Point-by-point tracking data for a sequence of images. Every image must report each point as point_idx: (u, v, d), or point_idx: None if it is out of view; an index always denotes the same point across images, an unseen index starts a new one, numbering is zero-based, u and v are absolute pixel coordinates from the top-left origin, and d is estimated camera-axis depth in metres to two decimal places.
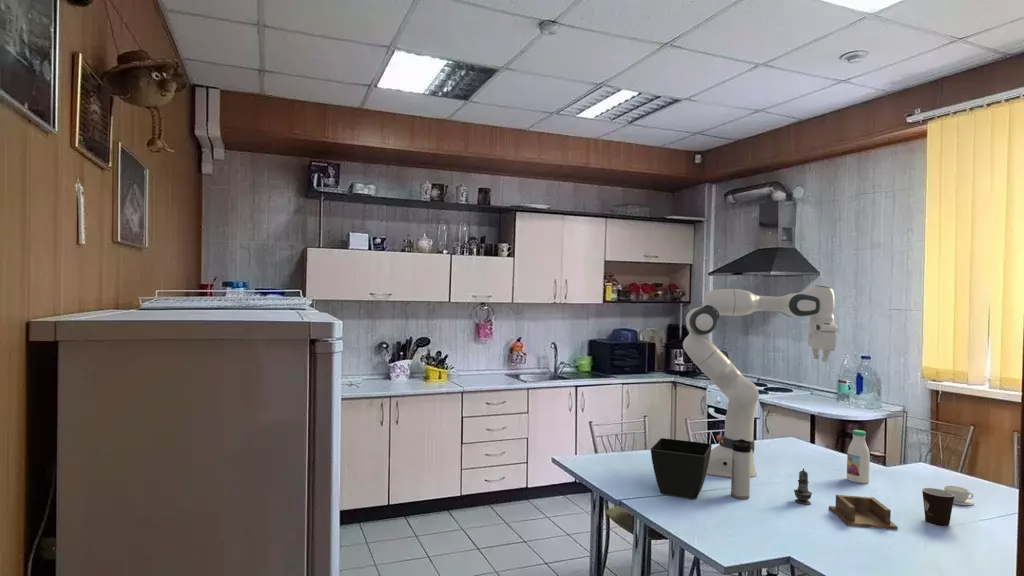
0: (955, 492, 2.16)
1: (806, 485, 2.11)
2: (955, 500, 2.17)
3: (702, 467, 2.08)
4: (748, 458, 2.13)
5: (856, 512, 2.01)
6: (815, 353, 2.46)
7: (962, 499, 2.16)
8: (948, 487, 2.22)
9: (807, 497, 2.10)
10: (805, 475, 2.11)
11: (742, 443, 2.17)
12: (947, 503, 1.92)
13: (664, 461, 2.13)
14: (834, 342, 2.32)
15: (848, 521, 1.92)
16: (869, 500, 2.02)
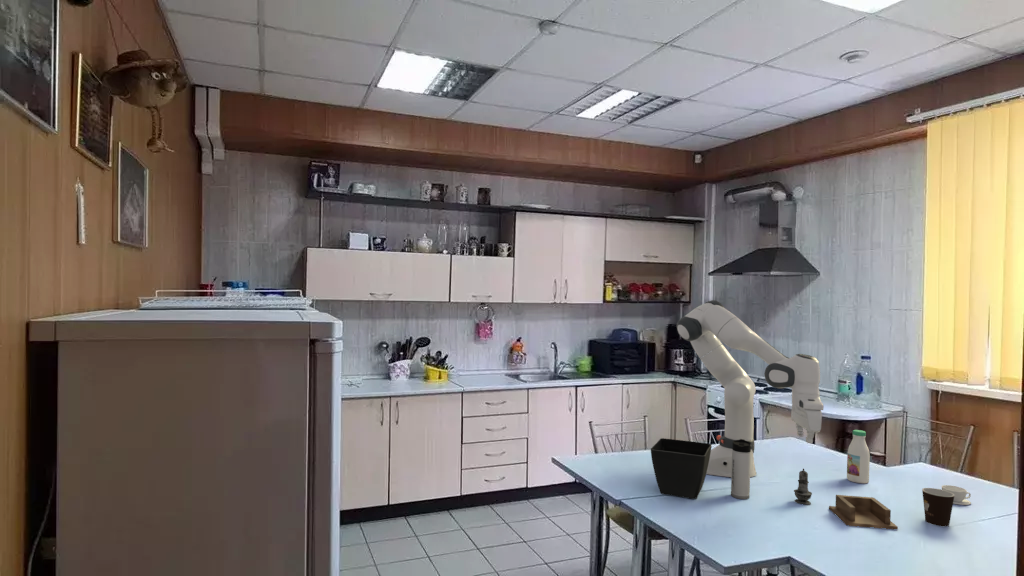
0: (953, 492, 2.16)
1: (806, 485, 2.11)
2: None
3: (702, 467, 2.08)
4: (748, 458, 2.13)
5: (856, 512, 2.01)
6: (799, 430, 2.17)
7: (960, 499, 2.16)
8: (945, 487, 2.22)
9: (807, 497, 2.10)
10: (805, 475, 2.11)
11: (742, 443, 2.17)
12: (947, 503, 1.92)
13: (664, 461, 2.13)
14: (819, 422, 2.02)
15: (848, 521, 1.92)
16: (869, 500, 2.02)
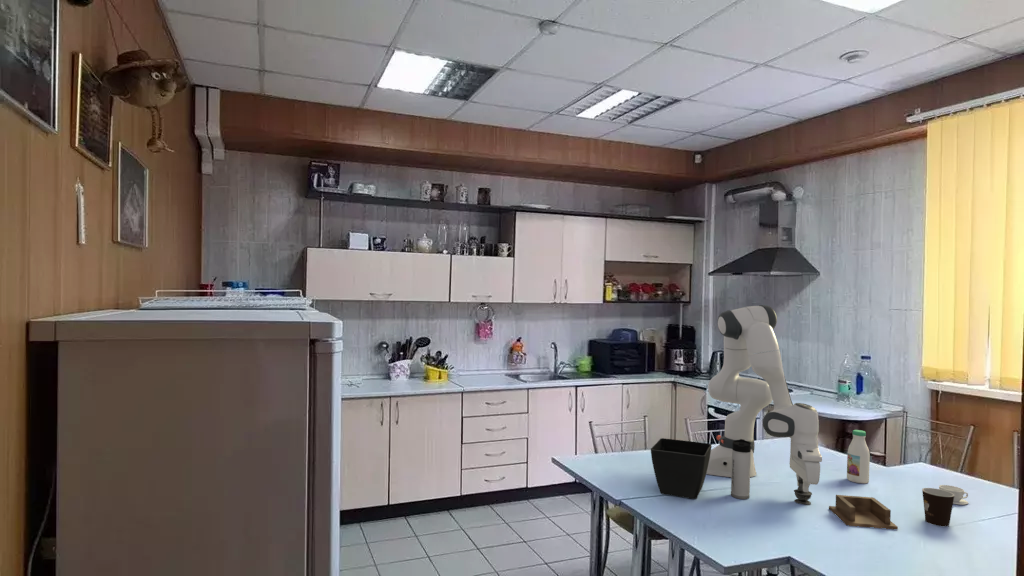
0: (950, 491, 2.17)
1: None
2: None
3: (702, 467, 2.08)
4: (748, 458, 2.13)
5: (856, 512, 2.01)
6: None
7: (957, 498, 2.16)
8: (943, 486, 2.23)
9: (807, 497, 2.10)
10: None
11: (742, 443, 2.17)
12: (947, 503, 1.92)
13: (664, 461, 2.13)
14: (817, 474, 2.02)
15: (848, 521, 1.92)
16: (869, 500, 2.02)
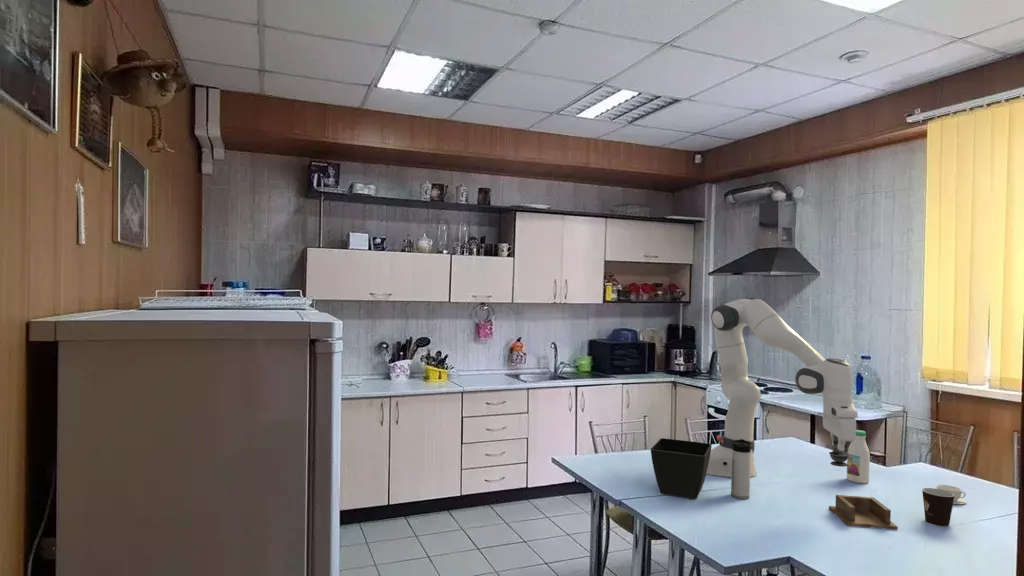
0: (948, 491, 2.17)
1: None
2: None
3: (702, 467, 2.08)
4: (748, 458, 2.13)
5: (856, 512, 2.01)
6: None
7: (955, 498, 2.16)
8: (940, 486, 2.23)
9: (843, 458, 2.00)
10: None
11: (742, 443, 2.17)
12: (947, 503, 1.92)
13: (664, 461, 2.13)
14: (853, 430, 1.93)
15: (848, 521, 1.92)
16: (869, 500, 2.02)
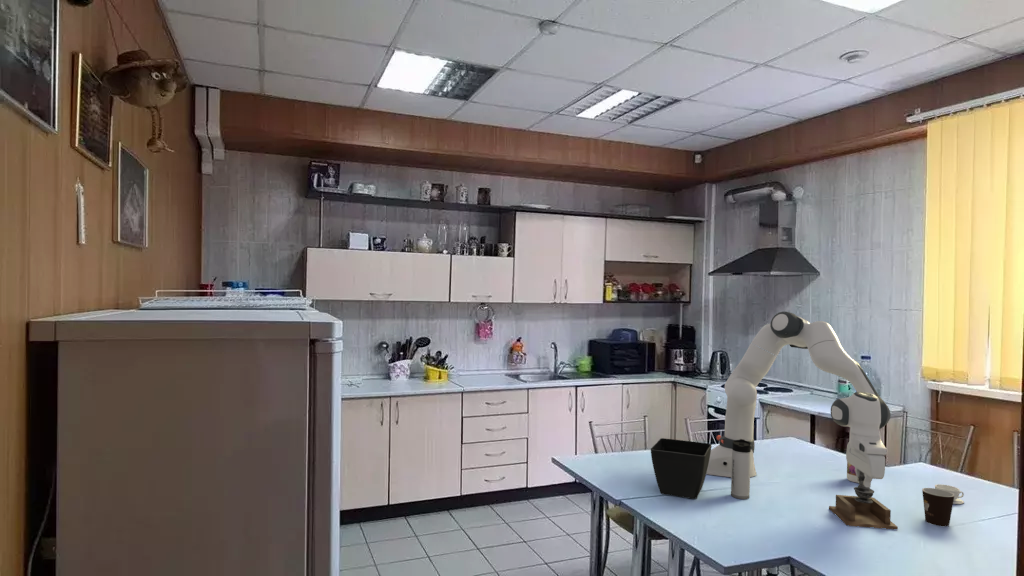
0: None
1: None
2: None
3: (702, 467, 2.08)
4: (748, 458, 2.13)
5: (856, 512, 2.01)
6: (859, 475, 2.01)
7: None
8: (939, 486, 2.23)
9: (869, 495, 1.96)
10: None
11: (742, 443, 2.17)
12: (947, 503, 1.92)
13: (664, 461, 2.13)
14: (882, 468, 1.88)
15: (848, 521, 1.92)
16: None
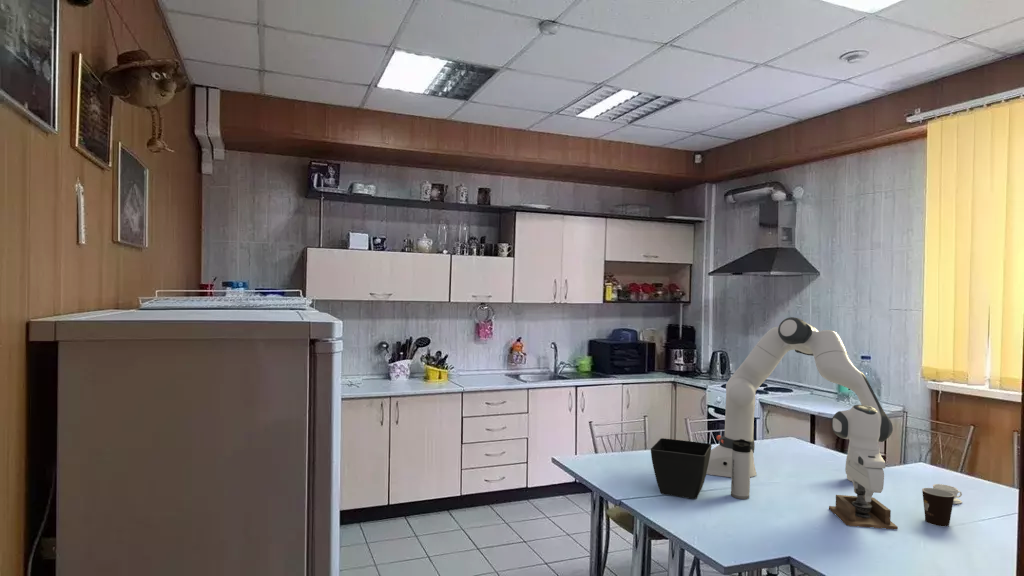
0: None
1: None
2: None
3: (702, 467, 2.08)
4: (748, 458, 2.13)
5: None
6: (856, 486, 2.02)
7: None
8: (937, 486, 2.23)
9: (867, 510, 1.96)
10: None
11: (742, 443, 2.17)
12: (947, 503, 1.92)
13: (664, 461, 2.13)
14: (881, 482, 1.88)
15: (848, 521, 1.92)
16: None
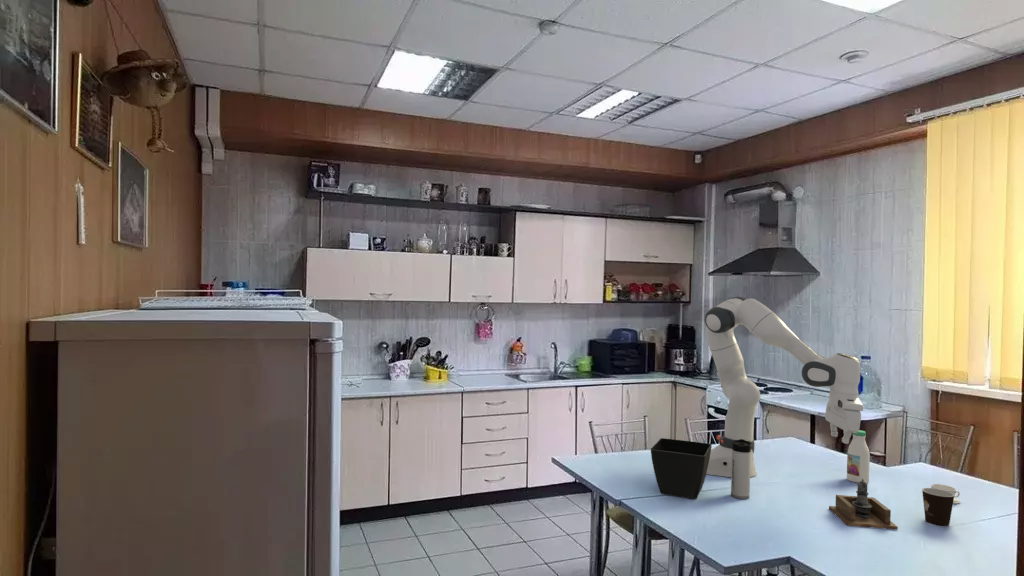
0: None
1: (866, 497, 1.97)
2: None
3: (702, 467, 2.08)
4: (748, 458, 2.13)
5: None
6: (833, 430, 2.15)
7: None
8: (935, 485, 2.23)
9: (867, 510, 1.96)
10: (865, 486, 1.97)
11: (742, 443, 2.17)
12: (947, 503, 1.92)
13: (664, 461, 2.13)
14: (858, 423, 2.00)
15: (848, 521, 1.92)
16: (869, 500, 2.02)
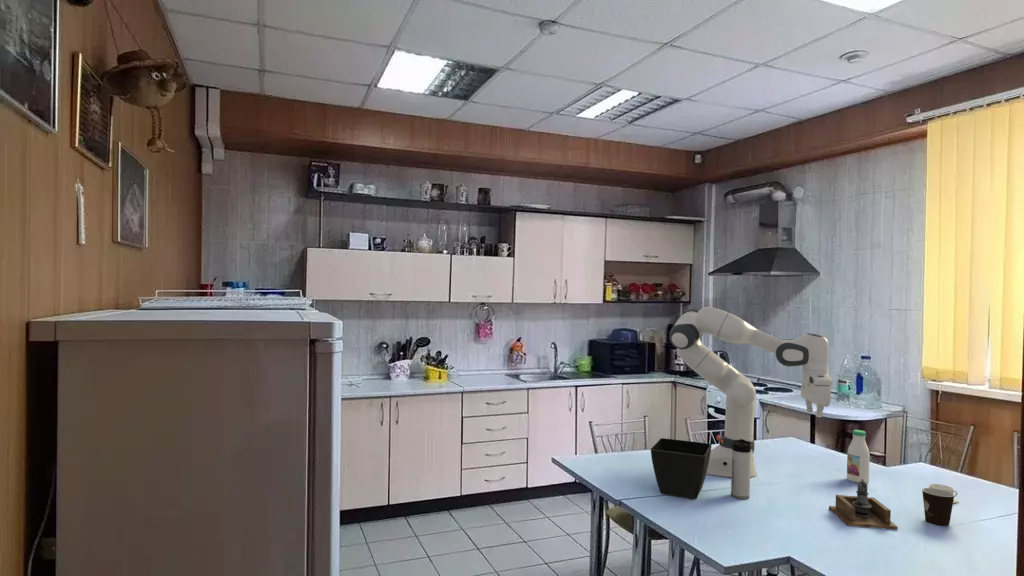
0: None
1: (866, 497, 1.97)
2: None
3: (702, 467, 2.08)
4: (748, 458, 2.13)
5: None
6: (808, 406, 2.28)
7: None
8: (932, 485, 2.24)
9: (867, 510, 1.96)
10: (865, 486, 1.97)
11: (742, 443, 2.17)
12: (947, 503, 1.92)
13: (664, 461, 2.13)
14: (828, 397, 2.13)
15: (848, 521, 1.92)
16: (869, 500, 2.02)
